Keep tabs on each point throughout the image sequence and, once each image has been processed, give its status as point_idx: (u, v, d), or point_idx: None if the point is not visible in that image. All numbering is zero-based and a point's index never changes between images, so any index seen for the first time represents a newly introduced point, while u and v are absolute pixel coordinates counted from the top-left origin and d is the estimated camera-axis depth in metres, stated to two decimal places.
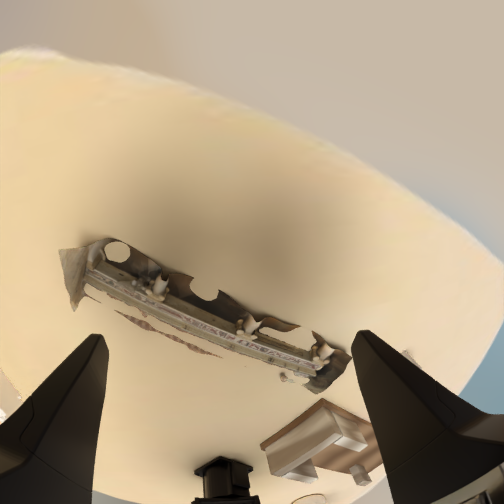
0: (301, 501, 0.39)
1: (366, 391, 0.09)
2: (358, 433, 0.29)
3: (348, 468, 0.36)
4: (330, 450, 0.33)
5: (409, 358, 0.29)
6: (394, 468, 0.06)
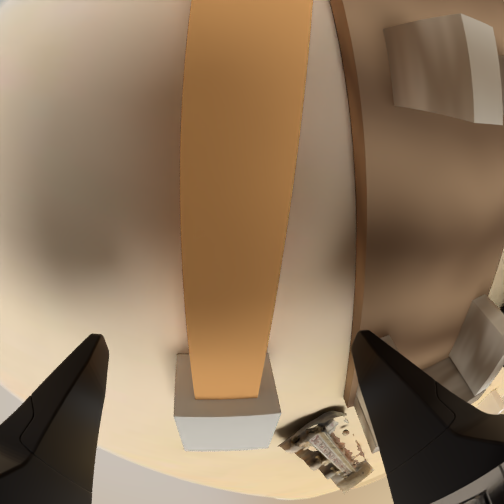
0: None
1: (366, 391, 0.09)
2: None
3: None
4: (458, 284, 0.13)
5: None
6: (394, 469, 0.06)
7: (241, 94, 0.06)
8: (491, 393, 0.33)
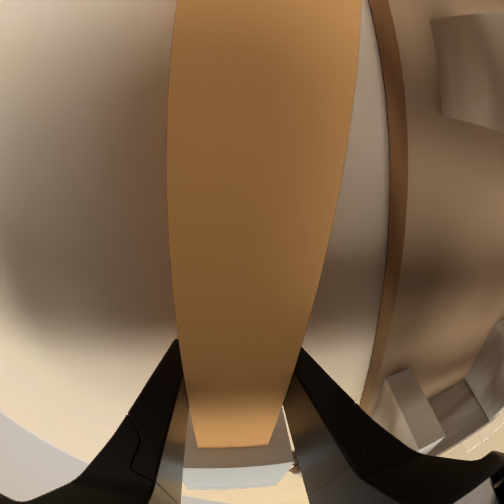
0: None
1: (286, 404, 0.08)
2: (398, 424, 0.11)
3: None
4: (483, 311, 0.11)
5: None
6: (313, 493, 0.06)
7: (261, 92, 0.04)
8: None
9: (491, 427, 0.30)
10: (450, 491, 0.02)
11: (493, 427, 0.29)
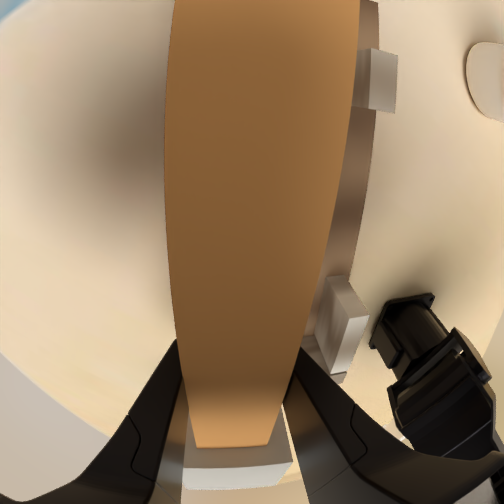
0: (487, 115, 0.15)
1: (286, 404, 0.08)
2: None
3: (355, 110, 0.15)
4: None
5: None
6: (313, 493, 0.06)
7: (258, 91, 0.04)
8: None
9: (400, 432, 0.41)
10: (450, 491, 0.02)
11: None
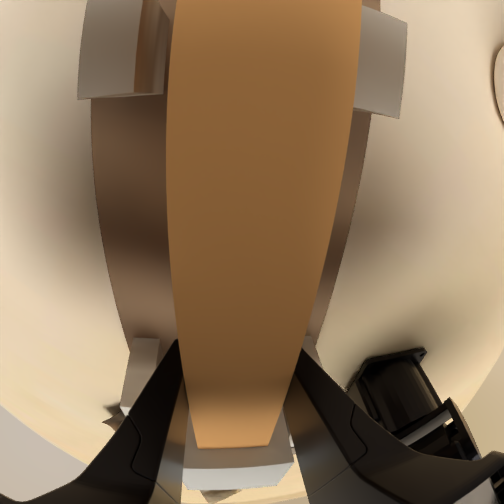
0: None
1: (286, 404, 0.08)
2: None
3: None
4: None
5: None
6: (313, 493, 0.06)
7: (261, 90, 0.04)
8: None
9: None
10: (450, 491, 0.02)
11: None
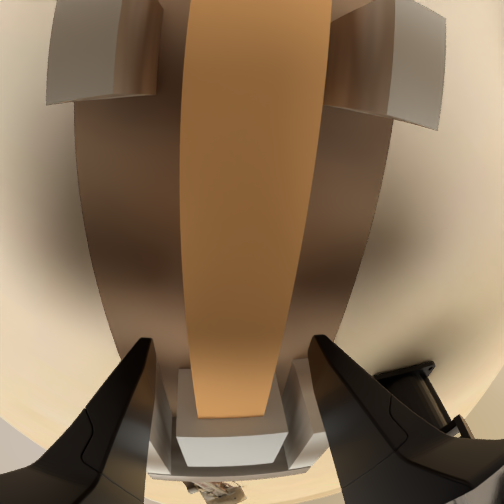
0: None
1: (320, 400, 0.08)
2: None
3: (359, 119, 0.09)
4: None
5: None
6: (347, 484, 0.06)
7: (251, 93, 0.05)
8: None
9: None
10: (488, 465, 0.03)
11: None
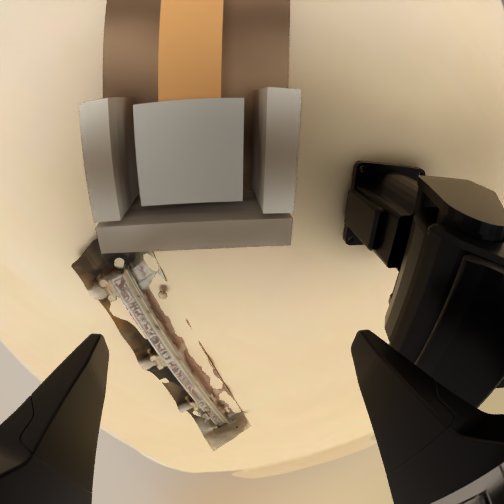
0: None
1: (366, 391, 0.09)
2: None
3: None
4: None
5: None
6: (394, 468, 0.06)
7: None
8: None
9: None
10: None
11: None
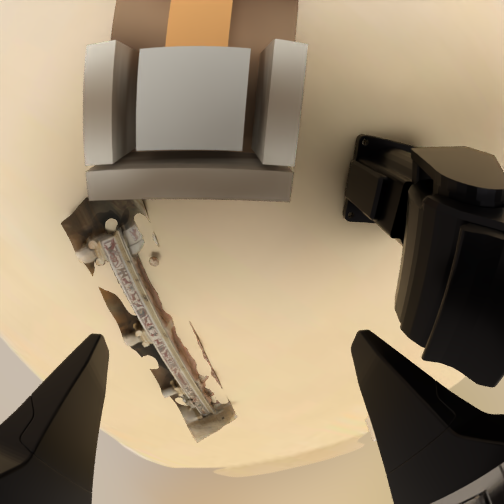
0: None
1: (366, 391, 0.09)
2: None
3: None
4: None
5: None
6: (394, 468, 0.06)
7: None
8: None
9: None
10: None
11: None
